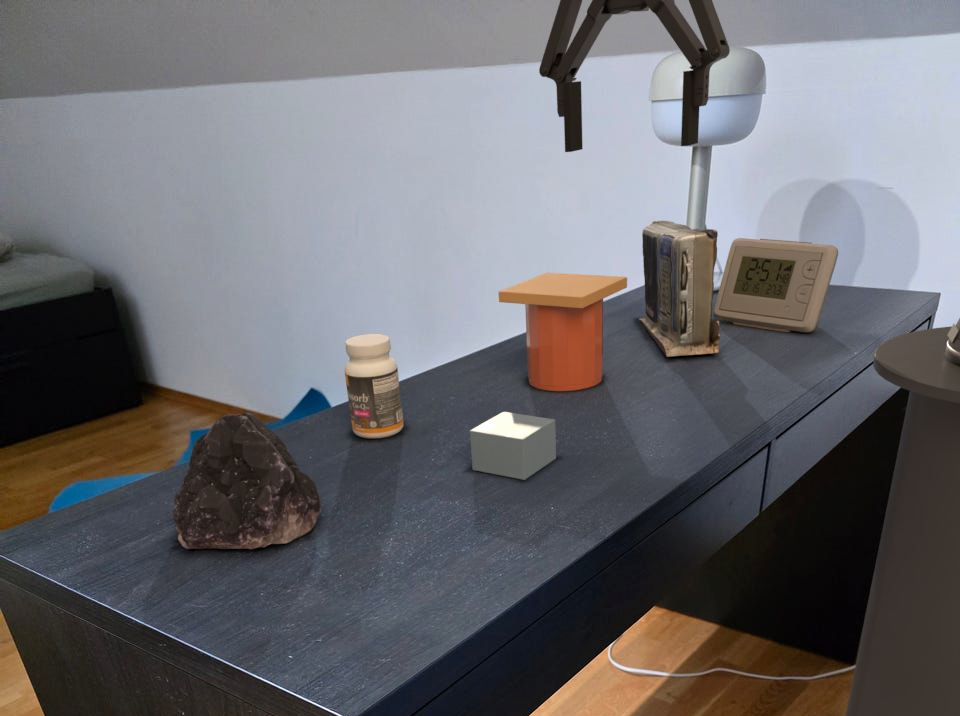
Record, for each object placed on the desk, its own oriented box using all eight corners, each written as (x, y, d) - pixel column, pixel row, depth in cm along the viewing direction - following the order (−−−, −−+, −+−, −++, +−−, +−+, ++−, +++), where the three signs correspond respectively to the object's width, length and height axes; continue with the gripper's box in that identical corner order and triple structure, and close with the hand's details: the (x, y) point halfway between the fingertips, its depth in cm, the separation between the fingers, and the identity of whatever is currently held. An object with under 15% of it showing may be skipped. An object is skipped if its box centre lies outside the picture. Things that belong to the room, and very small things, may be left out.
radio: (638, 318, 132) (641, 208, 124) (697, 315, 131) (704, 204, 123) (650, 362, 112) (654, 235, 104) (719, 359, 111) (729, 230, 103)
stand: (556, 458, 87) (555, 419, 85) (524, 480, 83) (522, 439, 81) (505, 449, 90) (503, 411, 88) (472, 470, 86) (469, 430, 84)
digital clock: (706, 320, 128) (711, 241, 122) (751, 309, 131) (758, 232, 126) (792, 340, 116) (803, 254, 110) (839, 328, 119) (852, 243, 114)
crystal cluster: (255, 580, 71) (243, 462, 66) (134, 539, 76) (115, 427, 71) (353, 525, 81) (350, 419, 76) (241, 492, 86) (231, 391, 81)
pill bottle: (342, 433, 97) (328, 342, 92) (382, 419, 100) (371, 329, 95) (375, 444, 94) (361, 349, 88) (415, 428, 97) (405, 336, 92)
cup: (614, 373, 109) (616, 288, 104) (579, 395, 103) (579, 306, 98) (552, 366, 114) (550, 284, 108) (515, 386, 108) (511, 300, 102)
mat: (627, 287, 104) (627, 276, 103) (582, 308, 96) (582, 297, 96) (546, 282, 109) (546, 272, 109) (498, 302, 102) (498, 291, 101)
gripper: (499, -86, 87) (513, 156, 99) (746, -140, 75) (729, 145, 86) (537, -81, 92) (546, 149, 104) (774, -130, 80) (755, 138, 91)
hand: (629, 148), depth 95 cm, fingers open, 13 cm apart
